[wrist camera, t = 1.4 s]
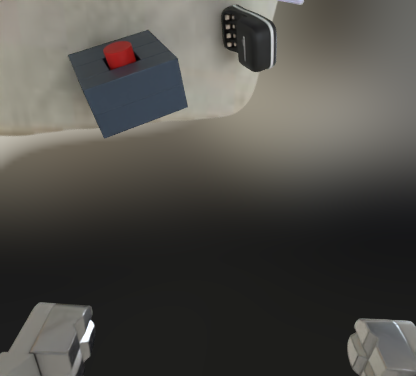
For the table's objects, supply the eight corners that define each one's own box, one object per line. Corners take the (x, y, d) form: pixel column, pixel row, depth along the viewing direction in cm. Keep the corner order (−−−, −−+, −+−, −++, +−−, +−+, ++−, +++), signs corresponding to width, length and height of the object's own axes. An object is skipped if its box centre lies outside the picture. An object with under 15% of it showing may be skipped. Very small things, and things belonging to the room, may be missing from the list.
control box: (67, 55, 46) (82, 90, 38) (148, 29, 49) (177, 58, 41) (87, 99, 51) (104, 138, 43) (159, 74, 54) (187, 107, 46)
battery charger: (215, 8, 51) (253, 29, 44) (237, 1, 52) (278, 21, 44) (220, 52, 56) (255, 79, 49) (239, 46, 57) (277, 71, 49)
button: (100, 46, 43) (106, 56, 40) (126, 38, 43) (134, 47, 41) (109, 70, 45) (115, 81, 43) (134, 62, 46) (141, 72, 43)
